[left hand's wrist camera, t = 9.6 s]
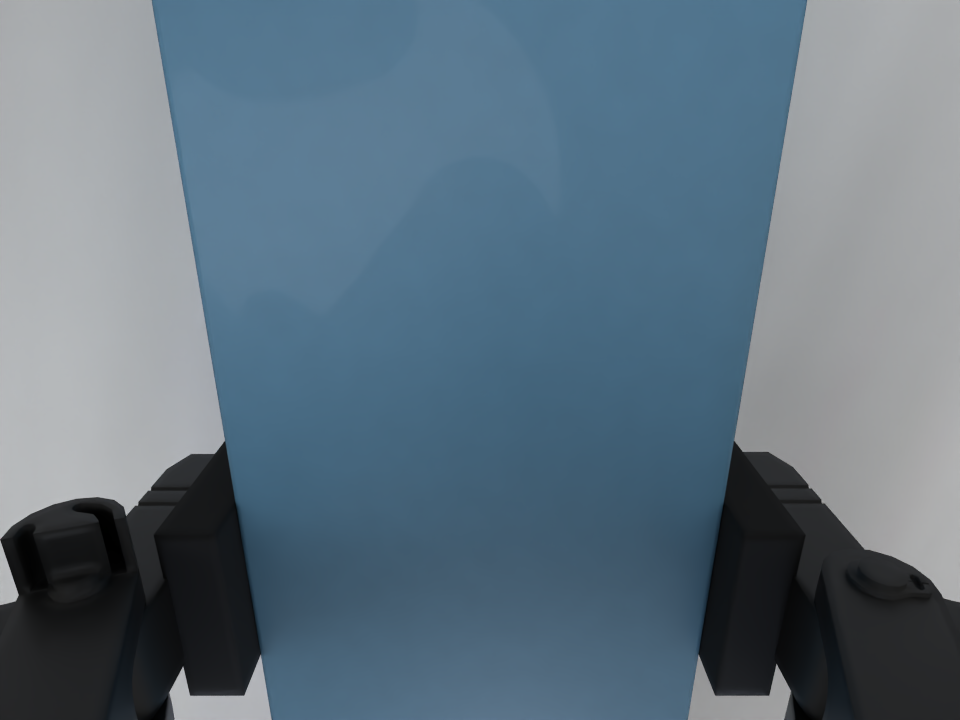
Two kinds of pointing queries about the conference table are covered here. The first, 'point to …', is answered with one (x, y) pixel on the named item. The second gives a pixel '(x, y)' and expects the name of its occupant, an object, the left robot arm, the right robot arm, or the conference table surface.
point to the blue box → (479, 333)
